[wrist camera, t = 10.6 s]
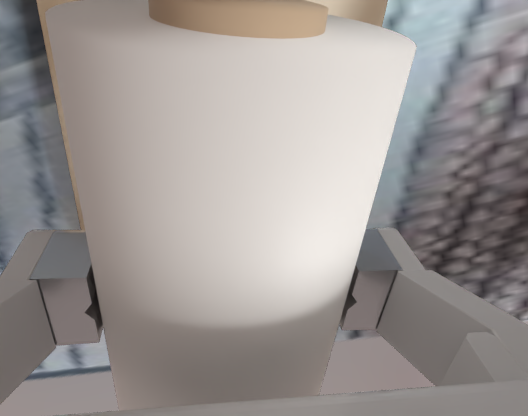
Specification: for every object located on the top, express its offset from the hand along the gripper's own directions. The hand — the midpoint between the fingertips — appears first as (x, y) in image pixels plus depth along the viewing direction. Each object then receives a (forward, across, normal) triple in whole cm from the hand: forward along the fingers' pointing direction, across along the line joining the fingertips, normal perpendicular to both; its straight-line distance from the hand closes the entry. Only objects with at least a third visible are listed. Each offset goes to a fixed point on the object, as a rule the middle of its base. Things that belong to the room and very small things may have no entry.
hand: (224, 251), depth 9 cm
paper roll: (+1, +1, 0) cm, 2 cm away
